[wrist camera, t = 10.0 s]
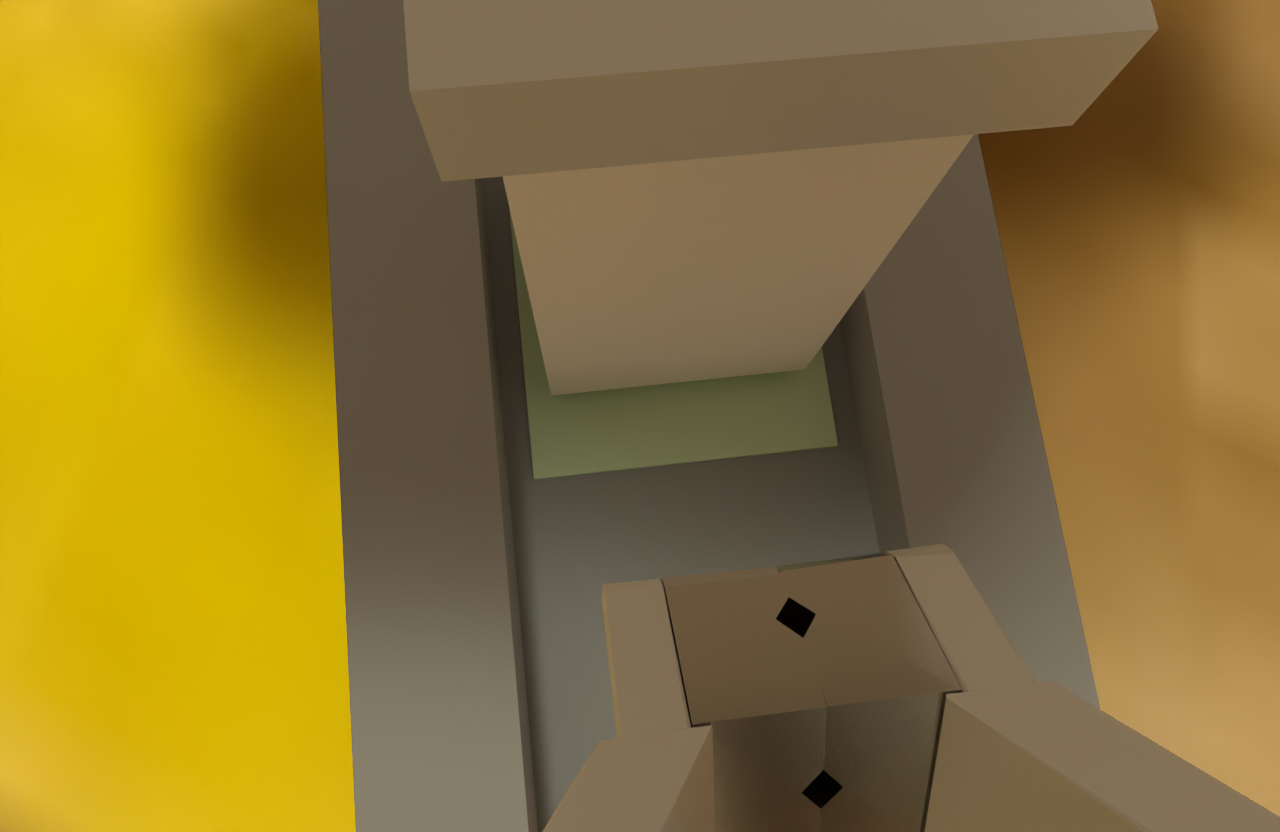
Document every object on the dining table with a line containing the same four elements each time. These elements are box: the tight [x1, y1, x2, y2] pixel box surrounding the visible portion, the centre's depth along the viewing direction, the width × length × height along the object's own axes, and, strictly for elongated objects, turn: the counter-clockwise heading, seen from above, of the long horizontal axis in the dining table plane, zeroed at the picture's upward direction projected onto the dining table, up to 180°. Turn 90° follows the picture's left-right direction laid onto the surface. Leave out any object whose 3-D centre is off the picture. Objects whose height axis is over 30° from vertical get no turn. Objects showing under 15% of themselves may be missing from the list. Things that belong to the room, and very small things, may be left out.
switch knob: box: [403, 0, 1159, 395], centre depth 11 cm, size 5×5×9 cm
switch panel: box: [318, 0, 1100, 832], centre depth 15 cm, size 22×10×4 cm, turn 7°
